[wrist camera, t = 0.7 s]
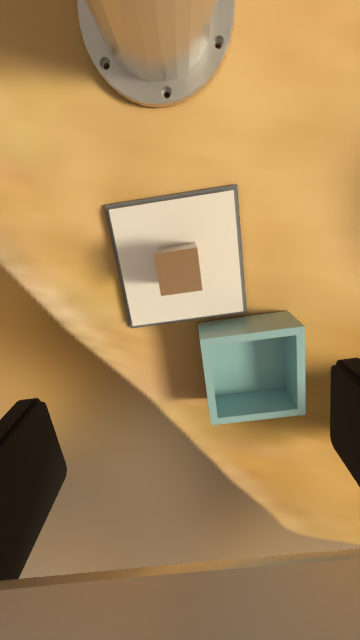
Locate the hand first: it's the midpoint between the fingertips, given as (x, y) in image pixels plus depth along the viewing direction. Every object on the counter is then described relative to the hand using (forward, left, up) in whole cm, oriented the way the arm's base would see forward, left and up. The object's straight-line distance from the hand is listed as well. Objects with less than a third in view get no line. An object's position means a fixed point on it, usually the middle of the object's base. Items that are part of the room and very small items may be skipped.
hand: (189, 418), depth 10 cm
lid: (-2, 0, -23) cm, 23 cm away
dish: (+10, +6, -23) cm, 26 cm away
